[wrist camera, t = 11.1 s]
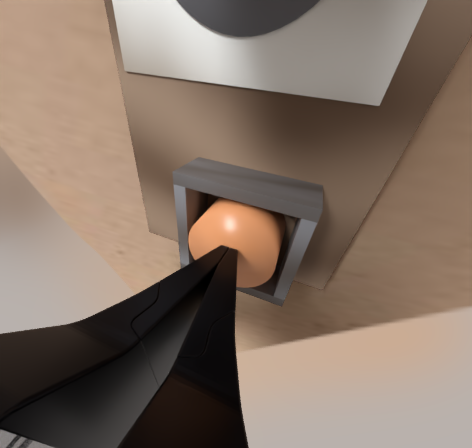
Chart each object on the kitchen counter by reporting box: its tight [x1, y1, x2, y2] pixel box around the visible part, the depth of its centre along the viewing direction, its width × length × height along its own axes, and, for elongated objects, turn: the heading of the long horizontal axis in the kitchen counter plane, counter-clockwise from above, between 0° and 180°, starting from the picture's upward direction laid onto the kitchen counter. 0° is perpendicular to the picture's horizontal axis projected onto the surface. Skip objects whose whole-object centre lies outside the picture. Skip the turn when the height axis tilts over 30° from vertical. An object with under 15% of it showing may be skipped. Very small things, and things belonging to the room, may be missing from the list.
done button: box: [188, 197, 286, 288], centre depth 11 cm, size 4×4×3 cm
